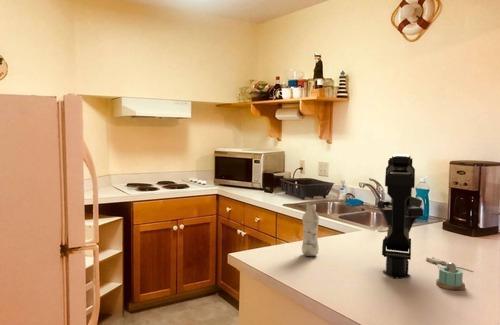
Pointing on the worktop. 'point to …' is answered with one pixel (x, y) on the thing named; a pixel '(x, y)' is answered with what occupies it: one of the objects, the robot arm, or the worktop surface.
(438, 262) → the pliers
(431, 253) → the worktop surface
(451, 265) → the post stand
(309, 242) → the plastic bottle
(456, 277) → the ring
